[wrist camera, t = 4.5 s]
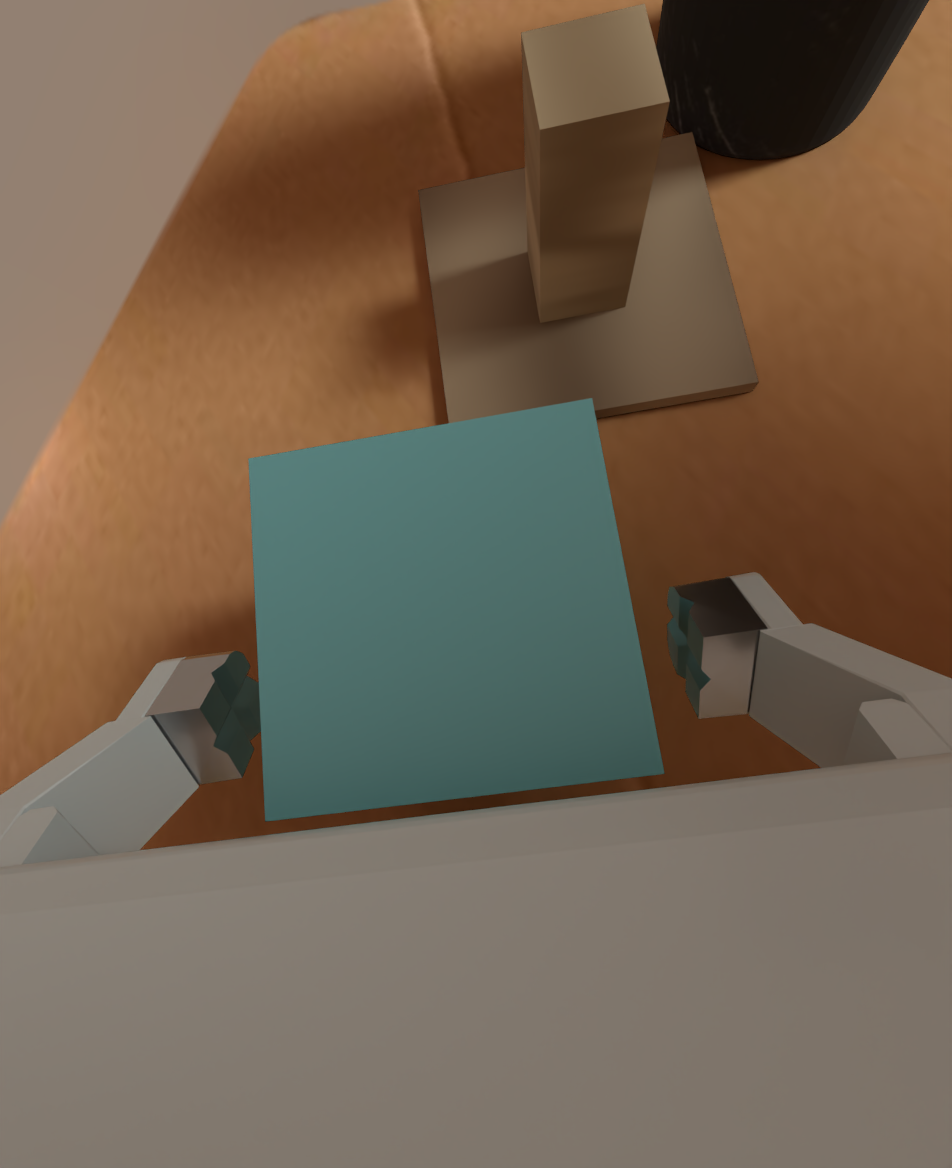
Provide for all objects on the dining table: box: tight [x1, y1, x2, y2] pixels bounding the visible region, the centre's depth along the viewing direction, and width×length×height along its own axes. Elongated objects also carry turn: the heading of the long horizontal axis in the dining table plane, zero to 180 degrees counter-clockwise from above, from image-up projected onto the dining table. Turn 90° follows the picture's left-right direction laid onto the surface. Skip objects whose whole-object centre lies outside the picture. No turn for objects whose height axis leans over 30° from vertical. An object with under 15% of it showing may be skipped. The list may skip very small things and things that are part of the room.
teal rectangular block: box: [249, 398, 665, 822], centre depth 12 cm, size 6×6×8 cm
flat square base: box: [418, 4, 758, 423], centre depth 15 cm, size 9×9×6 cm
